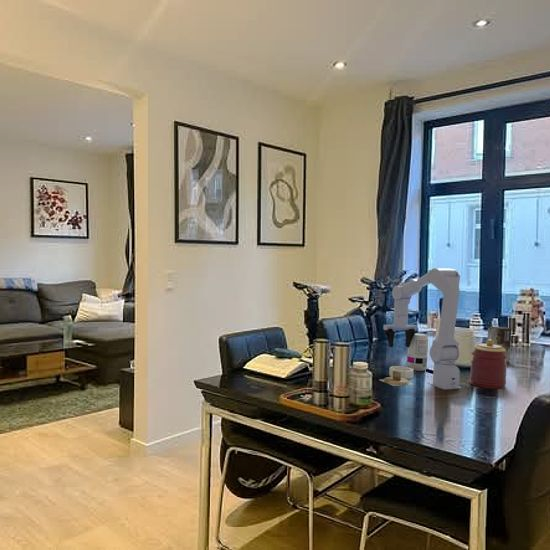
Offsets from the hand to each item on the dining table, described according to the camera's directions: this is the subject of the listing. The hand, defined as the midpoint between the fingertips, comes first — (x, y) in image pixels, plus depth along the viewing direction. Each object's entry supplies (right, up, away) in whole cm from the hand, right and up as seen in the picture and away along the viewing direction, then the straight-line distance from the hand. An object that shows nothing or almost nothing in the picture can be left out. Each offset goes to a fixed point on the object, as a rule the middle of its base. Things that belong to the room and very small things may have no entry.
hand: (399, 347), depth 221 cm
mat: (-6, -11, -22) cm, 25 cm away
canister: (+29, -12, -19) cm, 37 cm away
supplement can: (+9, -10, +5) cm, 14 cm away
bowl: (-2, -11, -11) cm, 16 cm away
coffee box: (+55, -11, +32) cm, 64 cm away
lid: (-6, -10, -22) cm, 25 cm away
